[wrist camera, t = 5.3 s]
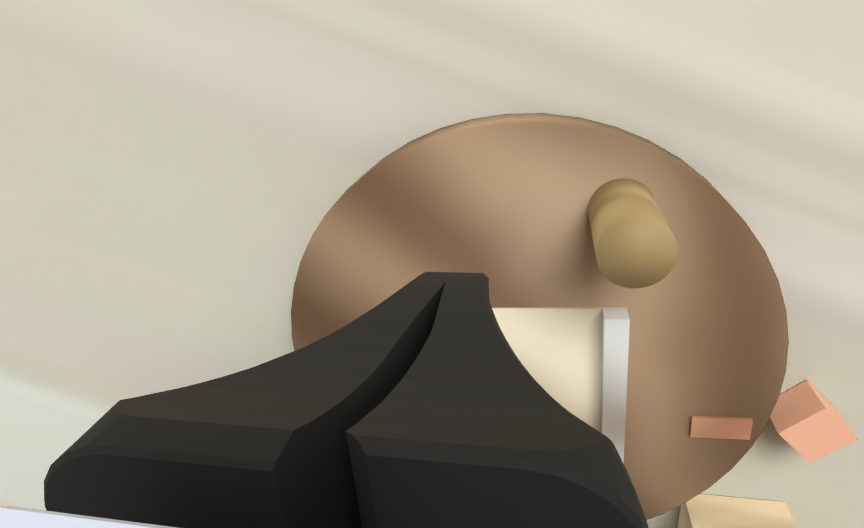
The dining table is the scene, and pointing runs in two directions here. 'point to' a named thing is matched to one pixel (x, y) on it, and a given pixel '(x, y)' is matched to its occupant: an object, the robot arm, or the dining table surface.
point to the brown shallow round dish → (577, 282)
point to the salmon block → (810, 422)
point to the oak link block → (734, 513)
